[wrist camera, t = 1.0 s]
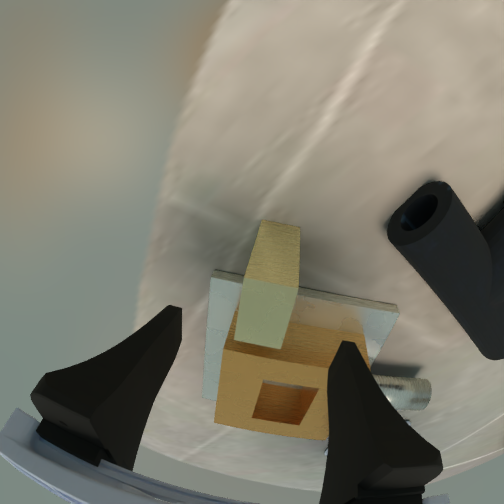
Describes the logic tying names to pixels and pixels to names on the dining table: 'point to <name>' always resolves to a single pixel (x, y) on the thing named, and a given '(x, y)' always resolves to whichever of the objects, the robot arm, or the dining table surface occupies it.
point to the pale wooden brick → (269, 286)
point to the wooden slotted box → (294, 361)
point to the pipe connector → (456, 260)
